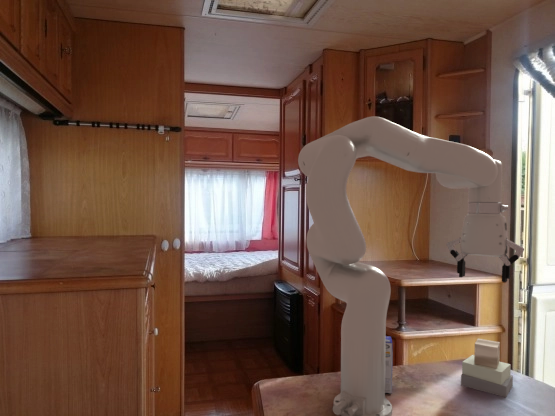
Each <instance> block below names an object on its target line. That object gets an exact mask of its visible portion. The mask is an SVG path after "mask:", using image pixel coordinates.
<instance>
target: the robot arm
mask: <svg viewBox="0 0 555 416" xmlns="http://www.w3.org/2000/svg"><path fill="white" fill-rule="evenodd" d="M365 157H372V158H375V159H378V160H379V161H383V162H385V163H388V164H389V165H393V166H395V167H398V168H401V169H402V170H405V171H408V172H414V173H421V174H435V179H436V181H437V182H438V183H439V184H440V186H442V187H444V188H446V189H452V190H457V189H459V190H461V189H467V190H468V191H467V214H465V215H464V218H463V222H462V226H461V236H460V237H457V238H455V239H453V240H451V241H448V242H447V243H446V246H447V248H448V251H449V253H450V254H451V256H452V257H453V258H454V259H455V261H456V263H457V264H456V267H457V268H456V273H457V274H459V275H458V277H459V278H463V277H465V276H466V260H465V258H466V257H467V256H468V255H469V256H479V257H480V256H481V257H493V258H498V259H500V260H501V262H502V263H503V265H502V267H501V282H502V283H507V282H508V280H509V279H511V266H512V264H514V263H515V262H517V260H519V259H520V257H521V255H522V254H523V253H524V251H525V248H524V247H523V246H521V245H519V244H517V243H515V242H513V241H512V240H510V239H509V237H508V224H507V218H506V216H505V215H502V214H503V213H504V212H509V205H505V204H503V201H502V200H503V171H504V170H503V168H504V167H503V163H502V162H501V160H498V159H493V157H491V156H490V155H489V154H488V153H485V152H484V151H482V150H479V149H477V148H475V147H472V146H470V145H467V144H464V143H459V142H454V141H449V140H445V139H441V138H436V137H429V136H427V135H423V134H420V133H418V132H415V131H414V130H413V131H412V130H410V129H408V128H406V127H404V126H402V125H400V124H397V123H395V122H392V121H391V120H389V119H386V118H384V117H380V116H373V115H372V116H367V117H364V118H362V119H359V120H356V121H352V122H350V123H348V124H346V125H344V126H342V127H340V128H338V129H336V130H334V131H332V132H330V133H328V134H325V135H323V136H322V137H320V138H318V139H315V140H313V141H310V142H309V143H307V144H305V145H304V146H303V147H302V148H301V150H300V151H299V153H298V158H297V162H298V163H297V164H298V167H299V170H300V171H301V172H302V174H303V175H304V176H306V177H308V178H307V183H306V187H305V199H306V205H307V208H308V211H309V213H310V216H311V218H312V220H313V224H312V225H311V226H310V227H309V229H308V230H307V234H306V248H307V251H308V254H309V255H310V256H309V257H310V258H311V261H312V263H313V264H314V266H315V269H316V271H317V273H318V275H319V278H320V279H321V282H322V284H323V286H324V287H325V289H326V291H327V292H328V293H329V294H330V295H331V296H333V298H335V299H338V300H340V301H342V302H345V303H346V307H345V309H344V313H343V316H342V318H341V319H342V320H341V324H340V327H341V329H340V338H341V339H340V340H341V341H340V393H338V394H337V395H336V396H335V397H334V399H333V406H332V412H333V413H334V415H336V416H392V414H393V405H392V402H390V400H389V399H388V398H386V393H385V351H386V336H387V335H386V331H387V328H386V327H387V315H388V314H387V313H388V309H389V304H390V299H391V292H392V289H391V283H390V280H389V278H388V276H387V275H386V274H385V273H384V272H383V271H382V270H381V269H379V268H378V267H376V266H374V265H372V264H366V263H363V262H360V261H361V260H362V259H363V258H364V257H365V254H366V252H367V243H366V239H365V236H364V234H363V232H362V231H363V230H362V228H361V226H360V224H359V222H358V220H357V218H356V215H355V213H354V211H353V209H352V206H351V203H350V201H349V197H348V192H347V187H348V186H347V184H348V181H349V177H350V174H351V172H352V170H353V168H354V166H355V164H356V161H357V159H360V158H365ZM458 244H459V245H460V253H459V252H458V251H457V250H456V248H455V246H456V245H458ZM509 248H511V249H513V250H514V251H515V252H514V254H513V255H512V256H511V257H509V256H508V255H507V254H508V251H509Z"/></svg>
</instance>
